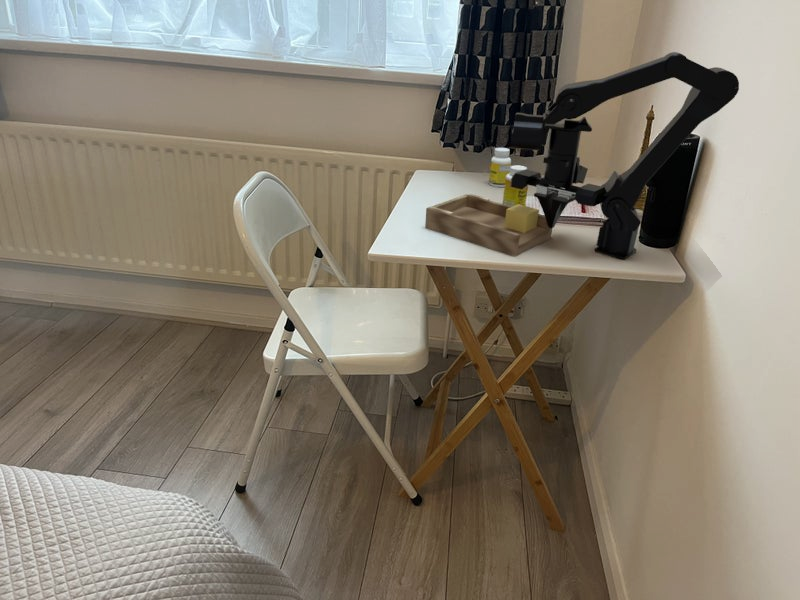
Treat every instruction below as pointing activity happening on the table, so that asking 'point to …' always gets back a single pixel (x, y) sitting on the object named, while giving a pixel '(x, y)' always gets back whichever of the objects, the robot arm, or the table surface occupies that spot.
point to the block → (521, 218)
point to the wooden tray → (484, 224)
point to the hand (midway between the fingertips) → (551, 227)
